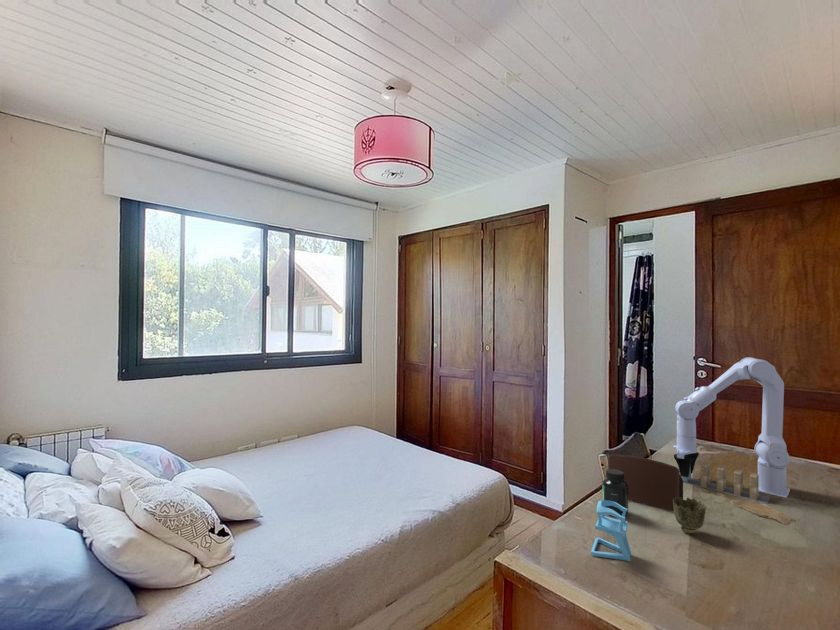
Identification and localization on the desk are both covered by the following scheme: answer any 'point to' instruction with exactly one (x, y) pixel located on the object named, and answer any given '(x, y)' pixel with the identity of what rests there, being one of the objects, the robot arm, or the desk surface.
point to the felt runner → (728, 490)
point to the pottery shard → (763, 511)
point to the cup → (689, 514)
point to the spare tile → (687, 477)
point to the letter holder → (649, 480)
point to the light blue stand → (612, 531)
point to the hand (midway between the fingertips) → (686, 474)
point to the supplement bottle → (615, 490)
